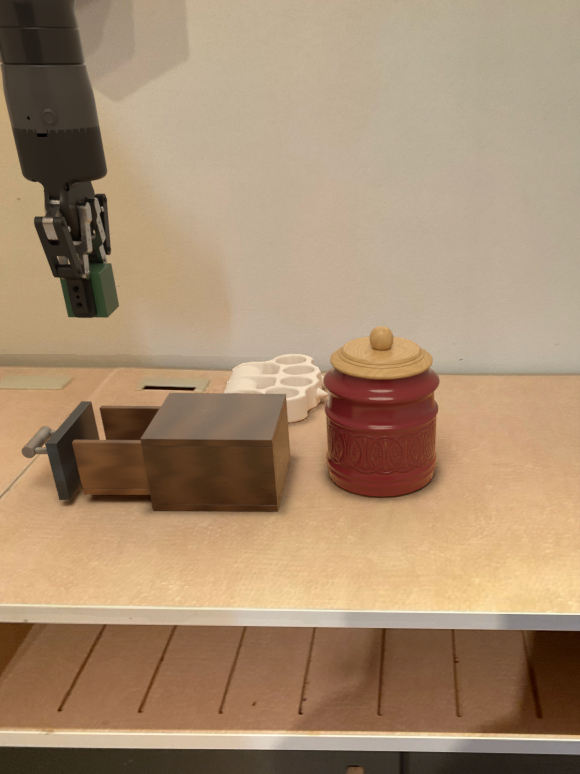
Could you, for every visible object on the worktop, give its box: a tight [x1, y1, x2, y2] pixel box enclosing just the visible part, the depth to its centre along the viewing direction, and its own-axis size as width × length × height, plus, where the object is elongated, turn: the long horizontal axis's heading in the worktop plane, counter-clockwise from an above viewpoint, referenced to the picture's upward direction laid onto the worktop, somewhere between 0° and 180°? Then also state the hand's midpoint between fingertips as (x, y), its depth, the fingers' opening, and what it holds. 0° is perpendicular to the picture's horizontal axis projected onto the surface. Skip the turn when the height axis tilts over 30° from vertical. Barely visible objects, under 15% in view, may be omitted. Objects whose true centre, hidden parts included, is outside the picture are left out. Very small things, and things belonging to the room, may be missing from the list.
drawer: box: [21, 400, 161, 501], centre depth 89 cm, size 17×11×7 cm
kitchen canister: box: [323, 325, 441, 497], centre depth 90 cm, size 13×13×18 cm
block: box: [59, 262, 120, 319], centre depth 80 cm, size 4×4×4 cm
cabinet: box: [140, 392, 292, 512], centre depth 89 cm, size 14×13×9 cm
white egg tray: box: [223, 353, 329, 424], centre depth 113 cm, size 3×18×15 cm
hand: (93, 309), depth 81 cm, fingers closed on block, 4 cm apart
